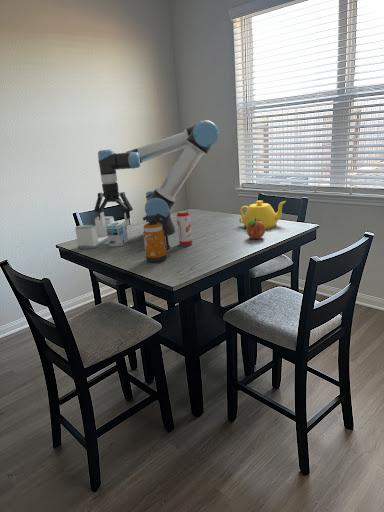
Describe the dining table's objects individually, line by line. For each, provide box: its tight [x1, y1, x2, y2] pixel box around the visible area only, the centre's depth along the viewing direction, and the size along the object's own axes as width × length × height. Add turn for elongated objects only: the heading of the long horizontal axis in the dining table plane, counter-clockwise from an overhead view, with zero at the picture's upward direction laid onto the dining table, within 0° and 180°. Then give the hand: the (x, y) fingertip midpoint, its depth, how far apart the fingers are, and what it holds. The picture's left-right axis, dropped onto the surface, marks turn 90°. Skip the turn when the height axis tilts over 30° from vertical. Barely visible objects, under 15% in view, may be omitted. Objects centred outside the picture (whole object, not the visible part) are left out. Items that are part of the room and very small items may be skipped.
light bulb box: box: [106, 220, 129, 247], centre depth 198 cm, size 11×7×11 cm, turn 168°
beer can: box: [176, 210, 193, 247], centre depth 185 cm, size 6×6×16 cm
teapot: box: [238, 200, 287, 230], centre depth 205 cm, size 25×18×14 cm
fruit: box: [246, 218, 266, 240], centre depth 185 cm, size 9×10×10 cm
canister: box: [142, 214, 171, 263], centre depth 166 cm, size 9×11×20 cm
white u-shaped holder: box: [74, 215, 115, 250], centre depth 204 cm, size 10×23×11 cm, turn 163°
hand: (115, 225), depth 196 cm, fingers open, 13 cm apart
